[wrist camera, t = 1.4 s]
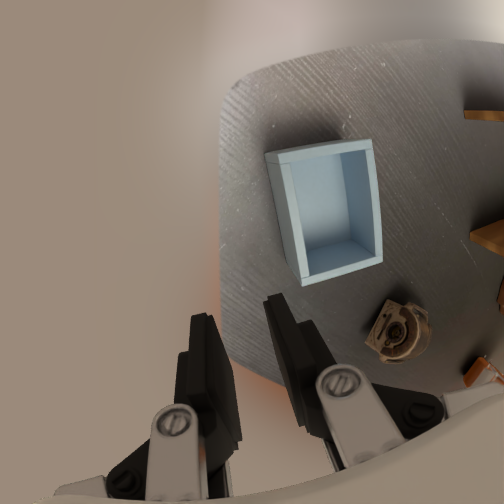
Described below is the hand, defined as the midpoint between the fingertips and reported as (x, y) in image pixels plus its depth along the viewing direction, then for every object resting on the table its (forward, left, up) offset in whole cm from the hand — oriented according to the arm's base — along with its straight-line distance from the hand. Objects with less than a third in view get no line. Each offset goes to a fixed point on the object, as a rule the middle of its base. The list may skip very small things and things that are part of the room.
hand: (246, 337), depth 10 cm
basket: (0, +9, -17) cm, 19 cm away
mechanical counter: (+20, +19, -17) cm, 33 cm away
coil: (+44, +45, -17) cm, 65 cm away
